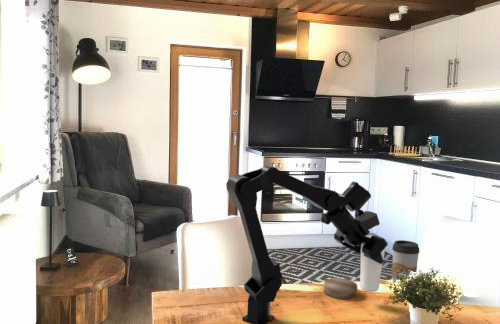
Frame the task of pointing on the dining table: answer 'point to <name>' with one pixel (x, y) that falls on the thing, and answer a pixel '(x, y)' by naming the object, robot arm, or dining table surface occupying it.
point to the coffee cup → (404, 257)
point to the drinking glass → (370, 272)
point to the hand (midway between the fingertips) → (374, 259)
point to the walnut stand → (340, 288)
